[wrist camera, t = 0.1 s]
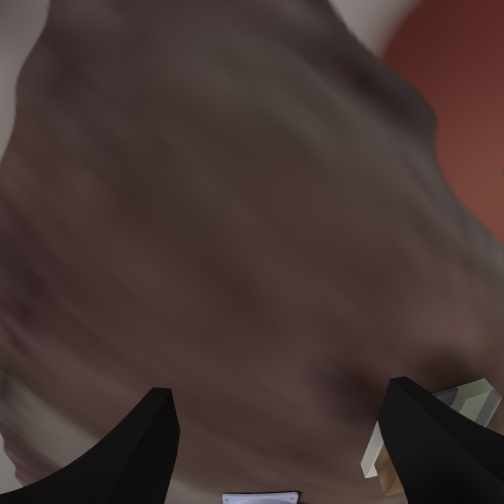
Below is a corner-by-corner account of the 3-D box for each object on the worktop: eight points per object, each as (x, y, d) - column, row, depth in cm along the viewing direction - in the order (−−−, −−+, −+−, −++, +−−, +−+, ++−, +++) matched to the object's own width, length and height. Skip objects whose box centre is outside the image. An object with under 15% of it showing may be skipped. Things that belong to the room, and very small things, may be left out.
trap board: (454, 438, 24) (466, 457, 21) (360, 463, 24) (368, 489, 21) (484, 378, 22) (502, 397, 18) (382, 403, 22) (397, 431, 18)
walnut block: (410, 455, 21) (424, 484, 18) (373, 464, 21) (385, 496, 17) (424, 428, 20) (442, 459, 16) (385, 438, 20) (400, 472, 16)
